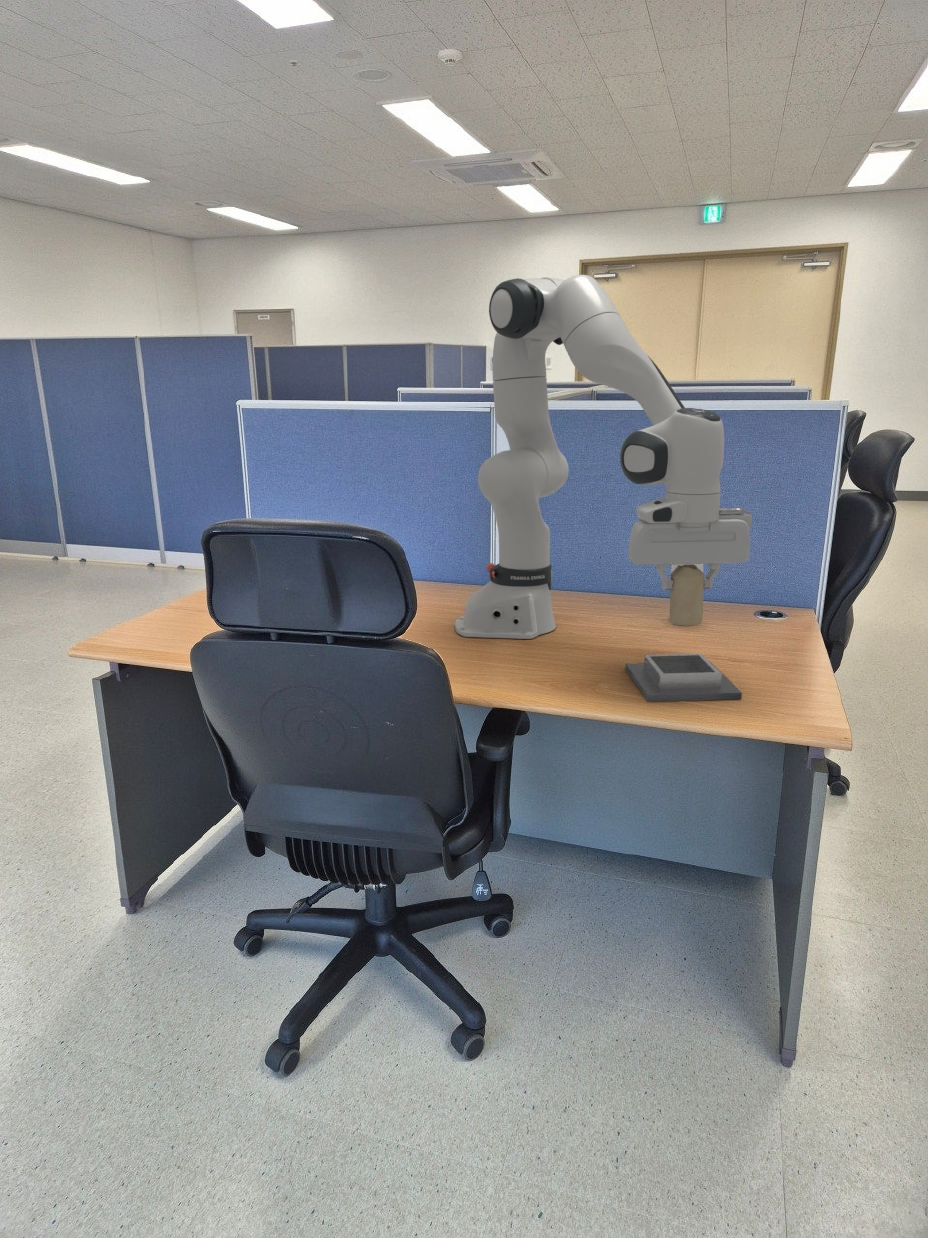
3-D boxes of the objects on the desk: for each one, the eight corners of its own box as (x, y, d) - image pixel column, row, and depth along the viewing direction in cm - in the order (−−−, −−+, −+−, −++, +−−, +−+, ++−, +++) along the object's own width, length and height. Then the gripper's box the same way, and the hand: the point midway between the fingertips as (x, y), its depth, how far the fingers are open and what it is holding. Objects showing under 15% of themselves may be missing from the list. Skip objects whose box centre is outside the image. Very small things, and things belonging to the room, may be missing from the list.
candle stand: (647, 702, 132) (648, 681, 131) (625, 669, 147) (626, 650, 146) (741, 699, 132) (743, 678, 131) (709, 667, 148) (711, 648, 147)
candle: (697, 627, 133) (699, 569, 130) (665, 624, 136) (666, 567, 133) (706, 619, 137) (708, 563, 135) (675, 616, 140) (676, 561, 138)
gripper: (746, 504, 134) (739, 583, 138) (627, 507, 134) (624, 585, 138) (760, 510, 128) (753, 592, 132) (637, 512, 128) (633, 594, 132)
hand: (686, 588), depth 135 cm, fingers closed on candle, 5 cm apart
